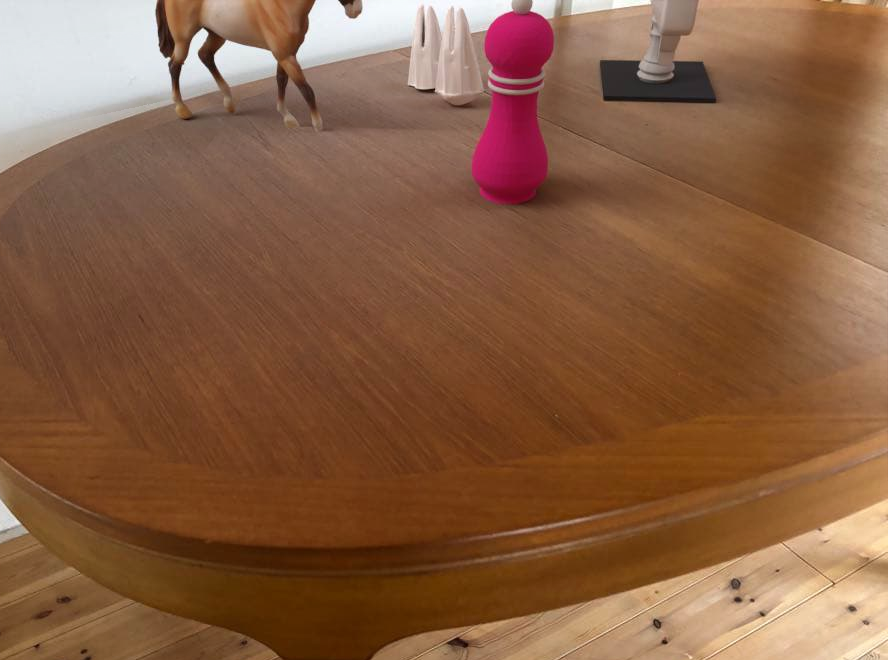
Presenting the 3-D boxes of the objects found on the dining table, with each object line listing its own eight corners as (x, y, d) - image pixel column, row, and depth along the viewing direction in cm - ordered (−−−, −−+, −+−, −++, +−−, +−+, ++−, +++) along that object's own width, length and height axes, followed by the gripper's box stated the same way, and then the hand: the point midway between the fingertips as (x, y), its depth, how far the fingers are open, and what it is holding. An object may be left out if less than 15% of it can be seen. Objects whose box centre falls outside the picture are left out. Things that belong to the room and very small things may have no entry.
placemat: (701, 65, 116) (702, 61, 115) (715, 103, 106) (716, 98, 105) (599, 64, 118) (600, 59, 117) (603, 100, 108) (604, 95, 108)
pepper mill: (454, 208, 88) (461, -6, 75) (503, 185, 91) (519, -24, 79) (508, 233, 84) (526, 10, 71) (558, 208, 87) (584, -9, 74)
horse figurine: (377, 136, 103) (372, -60, 90) (339, 161, 98) (328, -42, 85) (177, 92, 117) (148, -83, 104) (136, 112, 112) (100, -69, 99)
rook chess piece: (657, 87, 109) (669, 19, 104) (628, 77, 112) (638, 11, 107) (680, 78, 111) (693, 10, 106) (651, 69, 114) (663, 3, 109)
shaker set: (485, 106, 108) (490, 11, 101) (456, 114, 107) (459, 17, 100) (432, 78, 116) (434, -12, 109) (405, 85, 115) (405, -6, 108)
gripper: (724, -52, 92) (697, 81, 101) (700, -93, 108) (678, 26, 116) (661, -52, 93) (639, 80, 102) (646, -92, 109) (628, 26, 117)
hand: (660, 51), depth 109 cm, fingers open, 8 cm apart
